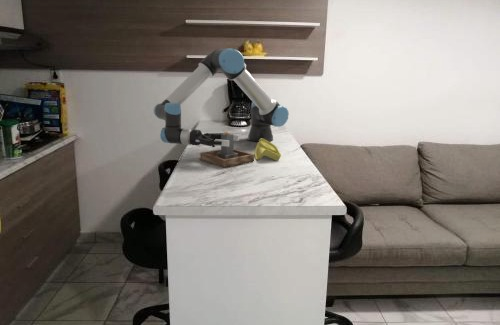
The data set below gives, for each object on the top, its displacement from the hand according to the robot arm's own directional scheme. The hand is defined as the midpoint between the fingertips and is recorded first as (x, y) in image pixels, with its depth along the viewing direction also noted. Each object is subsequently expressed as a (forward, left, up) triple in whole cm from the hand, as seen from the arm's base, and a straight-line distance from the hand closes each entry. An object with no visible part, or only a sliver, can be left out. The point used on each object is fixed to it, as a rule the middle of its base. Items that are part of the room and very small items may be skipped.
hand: (234, 140), depth 181 cm
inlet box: (+2, -3, -10) cm, 10 cm away
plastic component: (-20, +3, -11) cm, 23 cm away
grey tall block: (+2, -3, -9) cm, 10 cm away
